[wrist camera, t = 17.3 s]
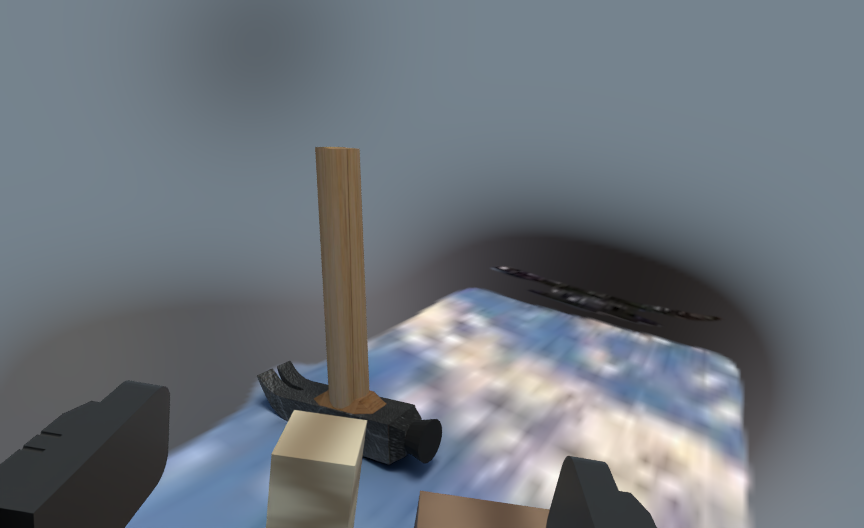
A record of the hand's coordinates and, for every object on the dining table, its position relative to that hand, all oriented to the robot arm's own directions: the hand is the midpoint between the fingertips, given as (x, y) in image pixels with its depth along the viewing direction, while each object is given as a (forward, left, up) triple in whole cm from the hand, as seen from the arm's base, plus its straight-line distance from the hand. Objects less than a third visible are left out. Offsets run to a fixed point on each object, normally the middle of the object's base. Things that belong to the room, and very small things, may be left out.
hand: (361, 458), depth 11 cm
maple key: (-3, +15, -26) cm, 30 cm away
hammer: (-5, +41, -27) cm, 50 cm away
